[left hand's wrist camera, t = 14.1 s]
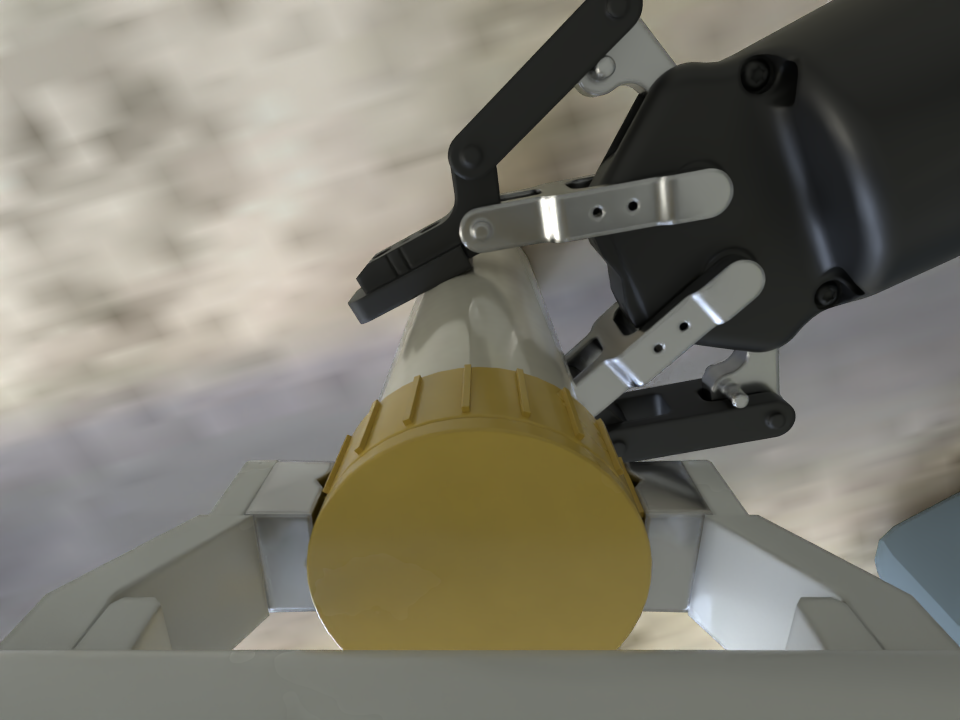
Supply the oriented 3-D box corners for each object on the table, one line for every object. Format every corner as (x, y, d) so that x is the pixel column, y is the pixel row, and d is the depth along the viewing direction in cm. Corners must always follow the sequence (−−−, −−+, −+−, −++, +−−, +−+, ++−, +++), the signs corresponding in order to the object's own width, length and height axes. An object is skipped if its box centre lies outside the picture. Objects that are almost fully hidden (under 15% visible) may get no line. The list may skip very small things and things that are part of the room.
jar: (527, 222, 23) (621, 407, 8) (538, 327, 25) (633, 652, 9) (417, 236, 23) (299, 444, 8) (435, 340, 25) (363, 678, 10)
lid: (364, 326, 9) (332, 382, 7) (667, 401, 10) (715, 472, 8) (314, 574, 11) (277, 674, 9) (572, 628, 11) (591, 732, 9)
